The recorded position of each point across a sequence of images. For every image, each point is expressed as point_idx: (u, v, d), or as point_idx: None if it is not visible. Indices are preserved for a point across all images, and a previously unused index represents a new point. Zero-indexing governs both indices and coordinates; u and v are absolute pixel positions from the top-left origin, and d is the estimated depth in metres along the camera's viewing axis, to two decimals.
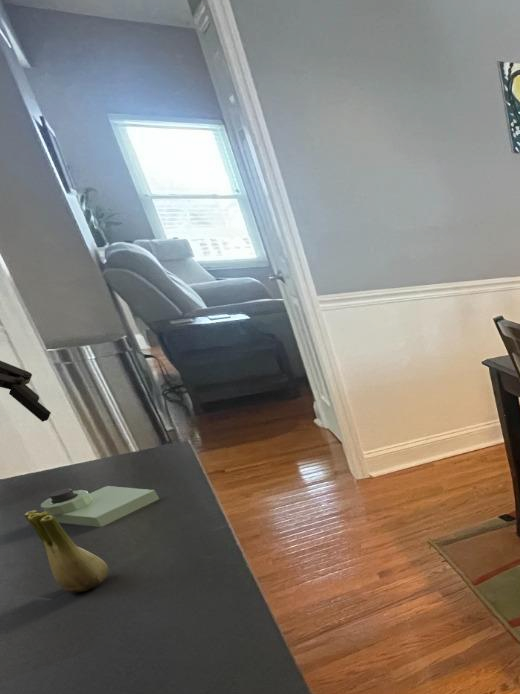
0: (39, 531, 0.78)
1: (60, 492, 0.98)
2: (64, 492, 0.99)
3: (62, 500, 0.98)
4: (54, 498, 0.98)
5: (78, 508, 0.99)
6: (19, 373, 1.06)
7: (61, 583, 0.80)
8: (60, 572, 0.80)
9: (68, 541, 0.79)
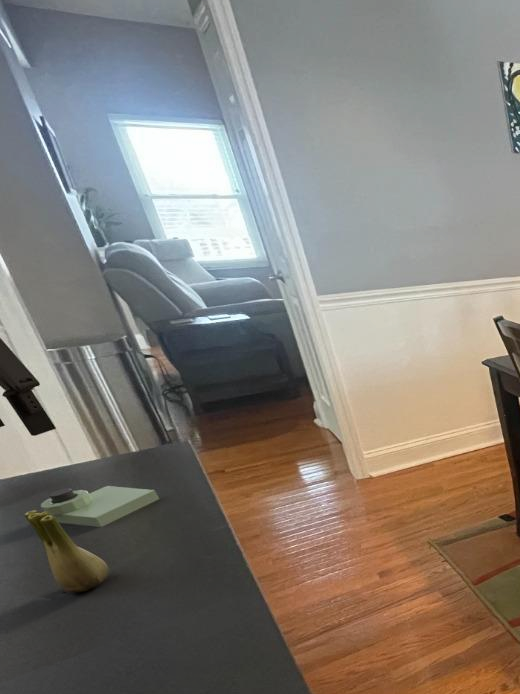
0: (39, 531, 0.78)
1: (60, 492, 0.98)
2: (64, 492, 0.99)
3: (62, 500, 0.98)
4: (54, 498, 0.98)
5: (78, 508, 0.99)
6: (10, 383, 0.87)
7: (61, 583, 0.80)
8: (60, 572, 0.80)
9: (68, 541, 0.79)
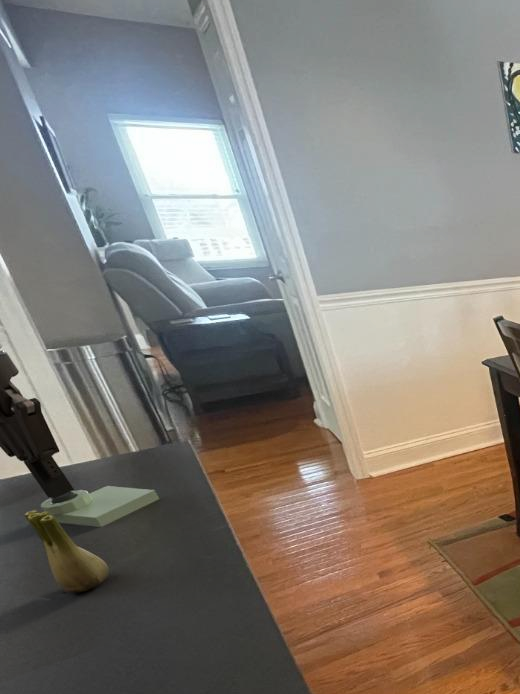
0: (39, 531, 0.78)
1: (62, 495, 0.99)
2: (66, 494, 0.99)
3: None
4: (56, 500, 0.98)
5: (78, 508, 0.99)
6: (33, 450, 0.93)
7: (61, 583, 0.80)
8: (60, 572, 0.80)
9: (68, 541, 0.79)
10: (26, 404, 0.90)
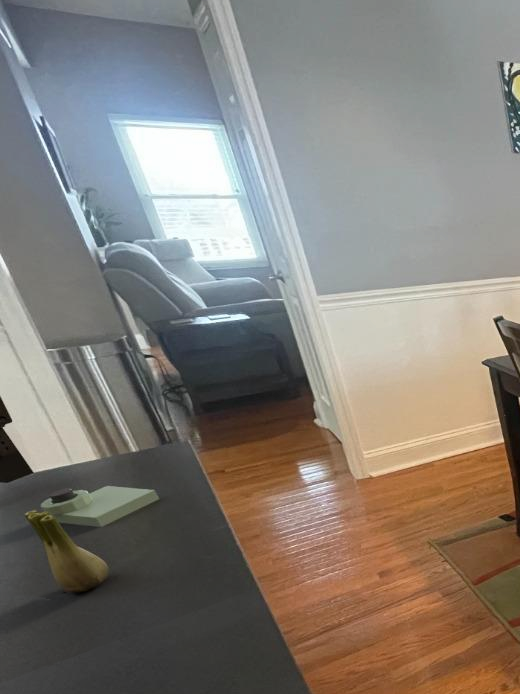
0: (39, 531, 0.78)
1: (60, 492, 0.98)
2: (64, 492, 0.99)
3: (62, 500, 0.98)
4: (54, 498, 0.98)
5: (78, 508, 0.99)
6: None
7: (61, 583, 0.80)
8: (60, 572, 0.80)
9: (68, 541, 0.79)
10: None
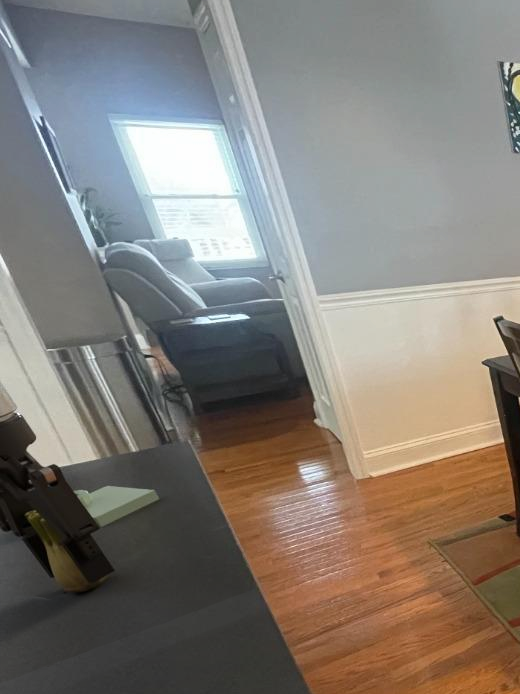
0: (39, 531, 0.78)
1: None
2: None
3: None
4: None
5: None
6: (68, 531, 0.76)
7: (61, 583, 0.80)
8: (60, 572, 0.80)
9: None
10: (43, 471, 0.73)
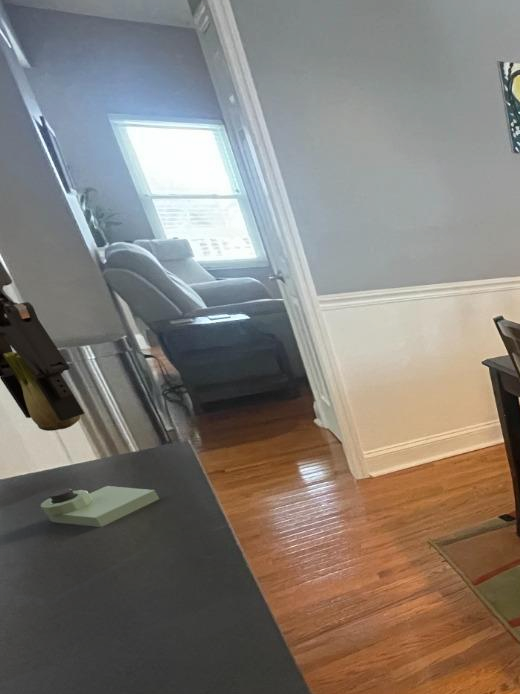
0: (15, 369, 0.87)
1: (60, 492, 0.98)
2: (64, 492, 0.99)
3: (62, 500, 0.98)
4: (54, 498, 0.98)
5: (78, 508, 0.99)
6: (40, 366, 0.85)
7: (35, 419, 0.89)
8: (34, 408, 0.88)
9: None
10: (17, 306, 0.82)
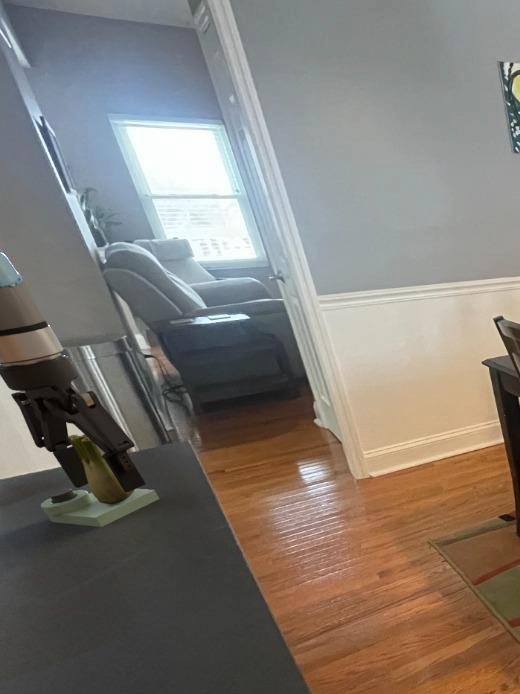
0: (79, 451, 0.96)
1: (60, 492, 0.98)
2: (64, 492, 0.99)
3: (62, 500, 0.98)
4: (54, 498, 0.98)
5: (78, 508, 0.99)
6: (109, 446, 0.94)
7: (96, 494, 0.98)
8: (96, 485, 0.98)
9: (102, 459, 0.97)
10: (82, 395, 0.91)
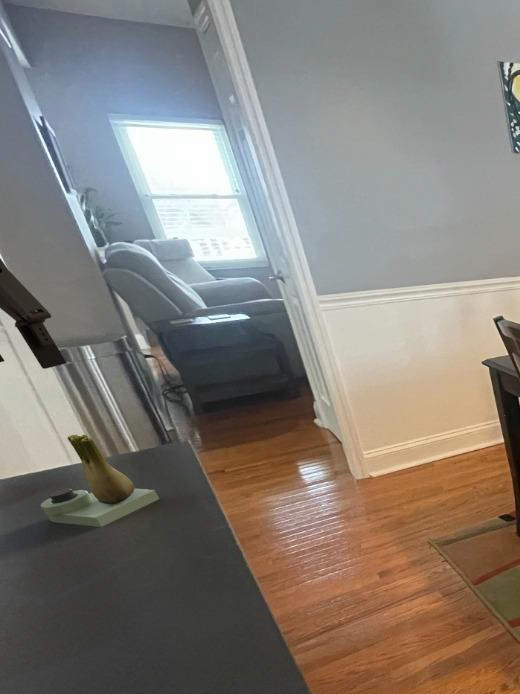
0: (79, 451, 0.96)
1: (60, 492, 0.98)
2: (64, 492, 0.99)
3: (62, 500, 0.98)
4: (54, 498, 0.98)
5: (78, 508, 0.99)
6: (22, 314, 0.88)
7: (96, 494, 0.98)
8: (96, 485, 0.98)
9: (102, 459, 0.97)
10: None
